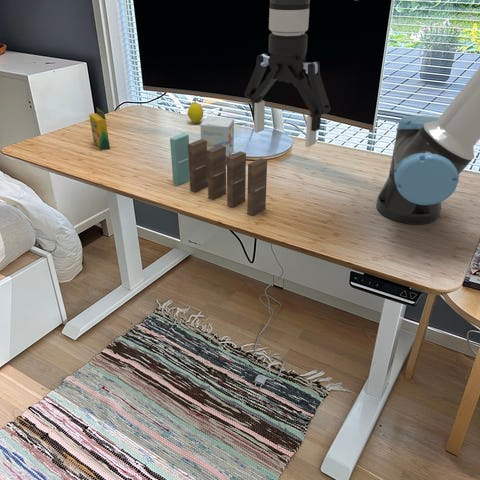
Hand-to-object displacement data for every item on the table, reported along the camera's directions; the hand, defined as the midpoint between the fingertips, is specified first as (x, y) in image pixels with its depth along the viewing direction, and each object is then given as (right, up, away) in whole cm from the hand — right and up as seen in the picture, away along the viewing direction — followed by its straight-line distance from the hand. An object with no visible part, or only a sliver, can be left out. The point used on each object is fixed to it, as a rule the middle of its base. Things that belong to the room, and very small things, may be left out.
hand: (283, 137), depth 105 cm
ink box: (-16, +3, +43) cm, 46 cm away
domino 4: (-10, -13, +18) cm, 24 cm away
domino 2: (-20, -8, +25) cm, 33 cm away
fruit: (-25, +20, +71) cm, 78 cm away
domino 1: (-25, -6, +29) cm, 39 cm away
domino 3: (-15, -11, +21) cm, 28 cm away
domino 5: (-5, -15, +14) cm, 22 cm away
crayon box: (-54, +8, +51) cm, 75 cm away
